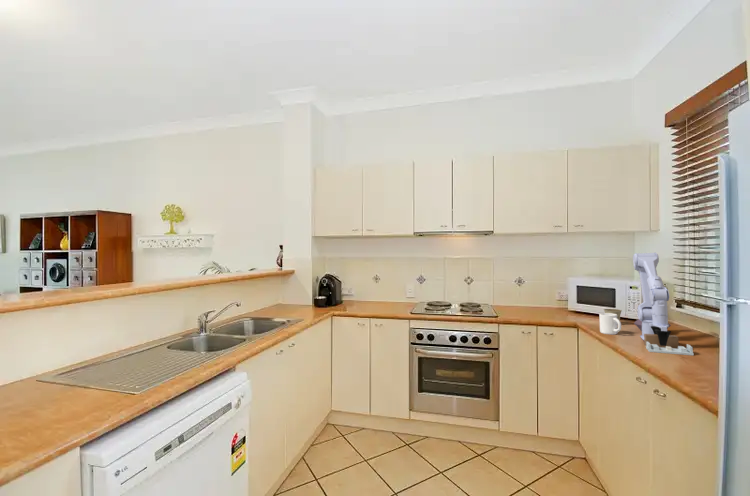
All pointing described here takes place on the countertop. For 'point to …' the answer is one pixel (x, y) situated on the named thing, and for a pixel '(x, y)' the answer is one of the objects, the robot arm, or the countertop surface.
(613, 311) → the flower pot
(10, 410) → the countertop surface
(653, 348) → the display stand
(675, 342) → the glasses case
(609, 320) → the mug
